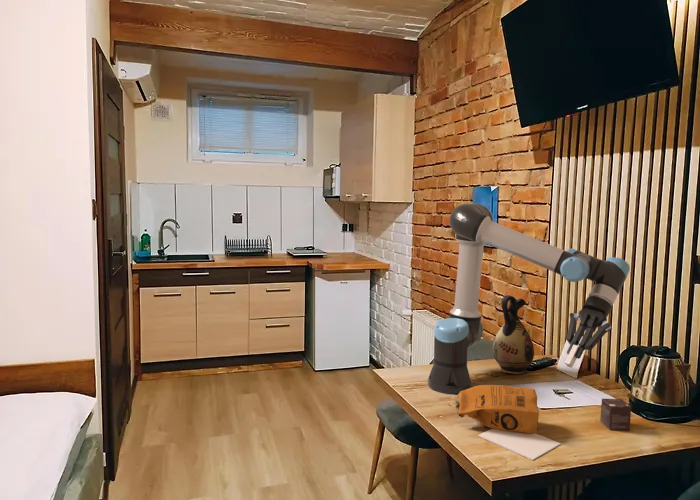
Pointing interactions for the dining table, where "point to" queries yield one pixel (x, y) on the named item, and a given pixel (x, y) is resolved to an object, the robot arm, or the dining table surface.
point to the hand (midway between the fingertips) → (568, 365)
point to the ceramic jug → (513, 340)
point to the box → (615, 414)
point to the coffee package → (501, 407)
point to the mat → (520, 442)
